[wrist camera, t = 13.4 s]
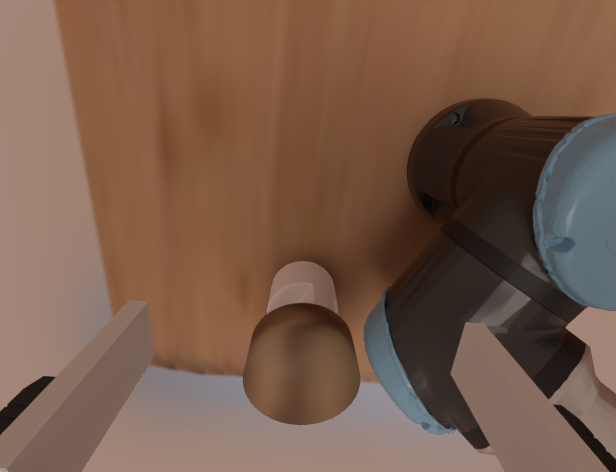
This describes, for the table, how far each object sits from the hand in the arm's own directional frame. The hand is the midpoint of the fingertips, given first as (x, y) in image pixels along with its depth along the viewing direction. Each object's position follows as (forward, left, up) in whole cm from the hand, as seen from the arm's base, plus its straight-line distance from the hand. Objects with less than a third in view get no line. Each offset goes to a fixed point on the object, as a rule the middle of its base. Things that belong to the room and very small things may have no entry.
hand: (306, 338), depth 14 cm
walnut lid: (-2, +15, -17) cm, 23 cm away
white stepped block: (-2, +15, -30) cm, 33 cm away
